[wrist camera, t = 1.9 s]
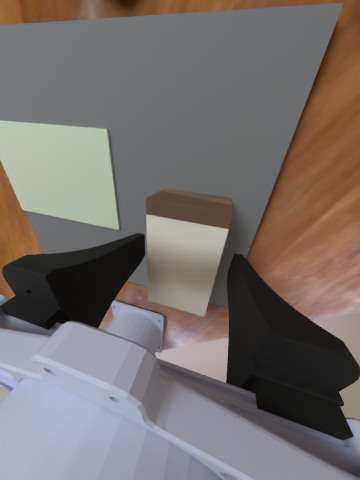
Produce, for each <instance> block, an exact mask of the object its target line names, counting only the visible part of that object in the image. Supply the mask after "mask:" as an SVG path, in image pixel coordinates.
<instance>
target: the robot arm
mask: <svg viewBox="0 0 360 480" xmlns="http://www.w3.org/2000/svg"><path fill="white" fill-rule="evenodd" d="M144 256H145V234H140V233H136V234H133V235H130V236H127V237H124V238H121V239H119V240H116V241H113V242H110V243H107V244H103V245H100V246H96V247H92V248H88V249H82V250H77V251H71V252H63V253H53V254H37V255H26V256H23V257H21V258H19V259H17V260H15V261H13V262H11V263H9V264H7V265H5V266H4V267H3V270H2V273H3V276H4V278H5V280H6V281H7V283H8V284H9V286H10V287H11V289H12V290H13V292H14V293H15V295H16V296H15V297H13V298H12V299H9V298H7V297H6V296H3V295H0V387H2V388H4V389H6V390H8V391H9V392H10V393H9V394H8V395H7V396H6V397H5V399H4V400H3V401H2V402H1V403H0V480H360V420H359V419H355V418H345V416H344V414H343V412H342V410H341V408H340V406H343V405H344V402H343V400H342V398H341V396H340V394H339V391H341V390H342V389H344V388H346V387H347V386H349V385H351V384H353V383H354V382H355V381H356V380H358V378H359V376H360V367H359V365H358V364H357V362H356V360H355V359H354V357H353V356H352V354H351V353H350V352H349V350H348V348H347V347H346V345H345V344H344V342H343V341H341V340H340V339H338V338H337V337H335V336H334V335H332V334H331V333H329V332H327V331H326V330H324V329H322V328H321V327H319V326H318V325H316V324H315V323H314V322H312V321H311V320H309V319H308V318H307V317H305V316H304V315H302V314H301V313H300V312H298V311H297V310H296V309H294V308H293V307H292V306H291V305H289V304H288V303H287V302H286V301H284V300H283V299H282V298H281V297H280V296H279V295H278V294H276V293H275V292H274V291H273V290H272V289H271V288H270V287H269V286H268V285H267V284H266V283H265V282H264V281H263V279H262V278H261V277H260V276H259V275H258V274H257V273H256V271H255V270H254V269H253V268H252V266H251V265H250V264H249V262H248V261H247V260H246V258H245V257H244V256H243V255H241V254H236V253H234V255H233V258H232V261H231V264H230V267H229V270H228V273H227V296H228V308H229V346H228V367H227V380H226V383H224V382H222V381H219V380H216V379H213V378H210V377H207V376H205V375H202V374H199V373H196V372H194V371H191V370H188V369H185V368H182V367H180V366H177V365H174V364H171V363H169V362H166V361H163V360H160V359H158V358H156V356H155V351H157V352H162V349H163V334H164V316H163V315H161V314H158V313H155V312H151V311H148V310H145V309H141V308H138V307H135V306H131V305H128V304H125V303H121V302H118V301H114V299H115V297H116V296H117V294H118V293H119V291H120V289H121V288H122V287H123V285H124V284H125V283H126V281H127V280H128V279H129V277H130V276H131V275H132V274H133V272H134V271H135V270H136V269H137V267H138V266H139V265H140V263H141V262H142V260H143V258H144ZM110 306H112V311H113V316H114V319H113V321H112V322H111V324H110V325H109V327H108V328H107V329H106V331H103V330H100V329H98V327H99V325H100V323H101V322H102V320H103V318H104V316H105V314H106V313H107V311H108V309H109V307H110Z"/></svg>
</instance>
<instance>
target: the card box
mask: <svg viewBox="0 0 360 480" xmlns="http://www.w3.org/2000/svg"><path fill="white" fill-rule="evenodd" d="M232 216H233V207H232V202H231V198H228V197H221V196H215V195H208V194H201V193H194V192H187V191H180V190H174V189H167V188H165V189H163V190H161V191H159V192H157V193H155V194H153V195H151V196H149V197H147V198H146V229H147V274H148V301H151V302H155V303H158V304H162V305H165V306H169V307H172V308H176V309H179V310H182V311H186V312H189V313H193V314H196V315H200V316H203V317H204V316H205V313H206V309H207V306H208V302H209V298H210V295H211V291H212V288H213V284H214V281H215V277H216V273H217V270H218V266H219V263H220V259H221V255H222V252H223V248H224V245H225V241H226V238H227V234H228V230H229V227H230V223H231V220H232Z"/></svg>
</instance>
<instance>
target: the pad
mask: <svg viewBox="0 0 360 480" xmlns="http://www.w3.org/2000/svg"><path fill="white" fill-rule="evenodd" d="M0 160H1V162H2V165H3V167H4V169H5V171H6V174H7V176H8V178H9V180H10V183H11V185H12V187H13V189H14V192H15V194H16V196H17V198H18V201H19V203H20V205H21V207H22V210H25V211H30V212H35V213H40V214H45V215H49V216H54V217H59V218H64V219H68V220H73V221H78V222H83V223H88V224H92V225H97V226H102V227H107V228H111V229H116V230H120V223H119V214H118V206H117V197H116V189H115V180H114V172H113V163H112V155H111V146H110V138H109V129H101V128H89V127H76V126H64V125H51V124H39V123H26V122H14V121H1V120H0Z"/></svg>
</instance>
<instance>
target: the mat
mask: <svg viewBox="0 0 360 480" xmlns="http://www.w3.org/2000/svg"><path fill="white" fill-rule="evenodd" d="M343 4H344V3H334V4H319V5H304V6H288V7H273V8H257V9H242V10H227V11H211V12H196V13H181V14H165V15H150V16H135V17H119V18H104V19H89V20H73V21H58V22H42V23H27V24H12V25H0V120H1V121H14V122H26V123H39V124H51V125H64V126H76V127H89V128H101V129H109V138H110V146H111V155H112V163H113V172H114V180H115V189H116V197H117V206H118V214H119V223H120V230H116V229H111V228H107V227H102V226H97V225H92V224H88V223H83V222H78V221H73V220H68V219H64V218H59V217H54V216H49V215H45V214H40V213H35V212H30V211H26V214H27V216H28V218H29V220H30V223H31V225H32V227H33V230H34V232H35V234H36V237H37V239H38V241H39V243H40V246H41V248H42V250H43V253H44V254H53V253H63V252H71V251H77V250H82V249H88V248H92V247H96V246H100V245H103V244H107V243H110V242H113V241H116V240H119V239H121V238H124V237H127V236H130V235H133V234H136V233H140V234H145V256H144V258H143V260H142V262H141V263H140V265H139V266H138V267H137V269H136V270H135V271H134V272H133V274H132V275H131V276H130V277H129V279H128V280H127V281H128V282H131V283H135V284H139V285H142V286H146V287H148V274H147V229H146V198H147V197H149V196H151V195H153V194H155V193H157V192H159V191H161V190H163V189H165V188H167V189H174V190H180V191H187V192H194V193H201V194H208V195H215V196H221V197H228V198H231V202H232V207H233V216H232V220H231V223H230V227H229V230H228V234H227V238H226V241H225V245H224V248H223V252H222V255H221V259H220V263H219V266H218V270H217V273H216V277H215V281H214V284H213V288H212V291H211V295H210V298H209V302H208V304H212V305H216V306H219V307H223V308H227V307H228V296H227V273H228V270H229V267H230V264H231V261H232V258H233V255H234V253H236V254H241V255H243V256H244V257H245V258H246V257H247V255H248V252H249V250H250V247H251V244H252V242H253V239H254V237H255V234H256V231H257V229H258V226H259V223H260V221H261V218H262V216H263V213H264V210H265V208H266V205H267V203H268V200H269V197H270V195H271V192H272V190H273V187H274V184H275V182H276V179H277V176H278V174H279V171H280V169H281V166H282V163H283V161H284V158H285V156H286V153H287V150H288V148H289V145H290V143H291V140H292V137H293V135H294V132H295V129H296V127H297V124H298V122H299V119H300V116H301V114H302V111H303V109H304V106H305V103H306V101H307V98H308V96H309V93H310V90H311V88H312V85H313V82H314V80H315V77H316V75H317V72H318V69H319V67H320V64H321V62H322V59H323V56H324V54H325V51H326V49H327V46H328V43H329V41H330V38H331V36H332V33H333V30H334V28H335V25H336V22H337V20H338V17H339V15H340V12H341V9H342V7H343Z"/></svg>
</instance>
